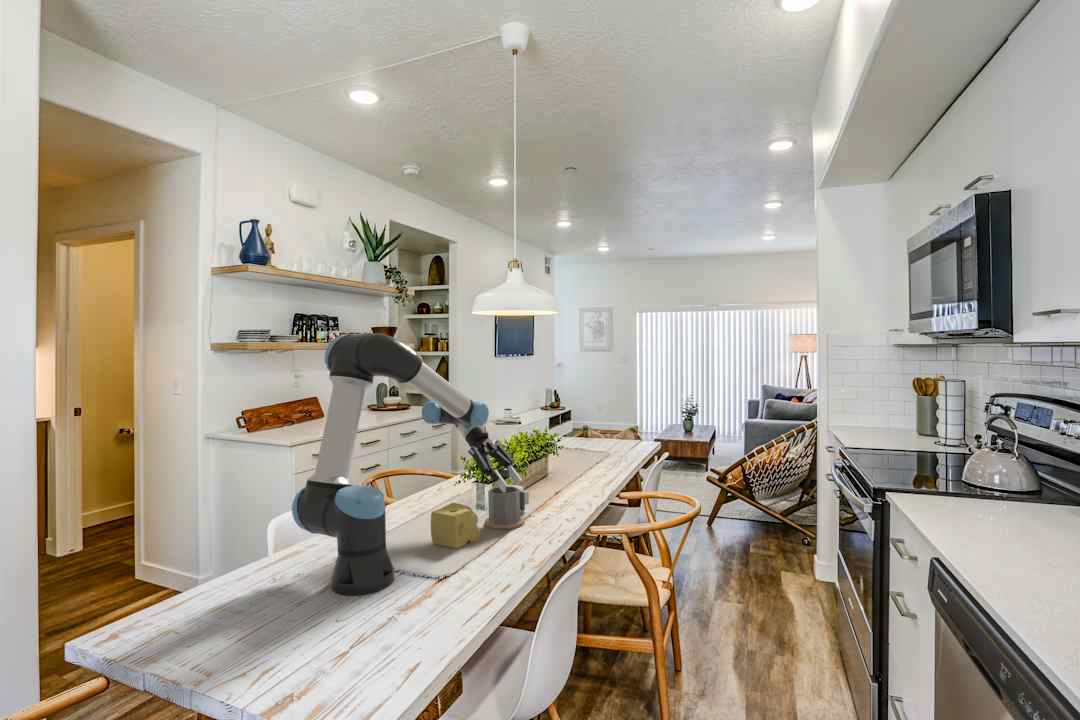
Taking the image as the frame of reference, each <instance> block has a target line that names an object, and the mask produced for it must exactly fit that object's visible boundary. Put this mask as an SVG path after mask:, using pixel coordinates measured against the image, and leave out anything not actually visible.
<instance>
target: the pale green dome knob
mask: <svg viewBox="0 0 1080 720" xmlns="http://www.w3.org/2000/svg"><path fill="white" fill-rule="evenodd" d="M508 486H512V487H516V488H518V489H520V491H523V492H524V497H525V505H528V504H529V503H530V501H529V496H530V495H529V494H530V493H529V492H530V491H529V490H524V486H522V485H519V484H518V485H517V486H516V484H509V485H508ZM524 515H525V510H520V516H524Z"/></svg>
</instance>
